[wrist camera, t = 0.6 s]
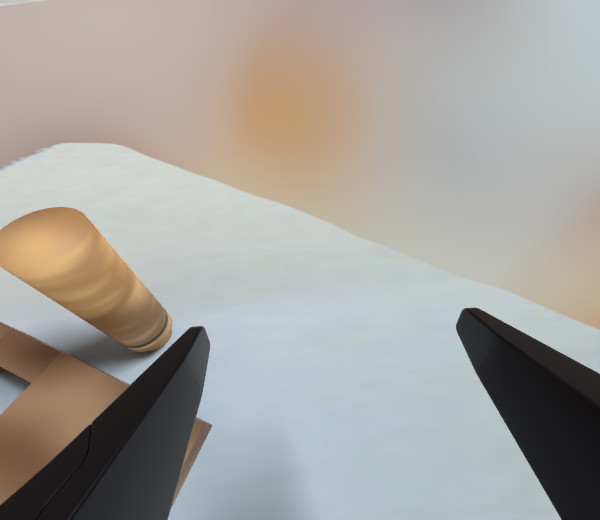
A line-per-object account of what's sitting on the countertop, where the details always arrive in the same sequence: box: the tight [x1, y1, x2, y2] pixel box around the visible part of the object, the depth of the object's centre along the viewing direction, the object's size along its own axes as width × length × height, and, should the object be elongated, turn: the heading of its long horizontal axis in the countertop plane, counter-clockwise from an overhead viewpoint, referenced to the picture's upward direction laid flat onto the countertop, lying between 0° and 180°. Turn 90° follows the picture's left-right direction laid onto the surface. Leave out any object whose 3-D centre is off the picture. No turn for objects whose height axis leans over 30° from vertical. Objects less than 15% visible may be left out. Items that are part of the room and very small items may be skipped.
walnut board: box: [0, 322, 212, 507], centre depth 16 cm, size 13×20×2 cm, turn 69°
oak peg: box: [0, 207, 172, 352], centre depth 18 cm, size 4×4×14 cm
